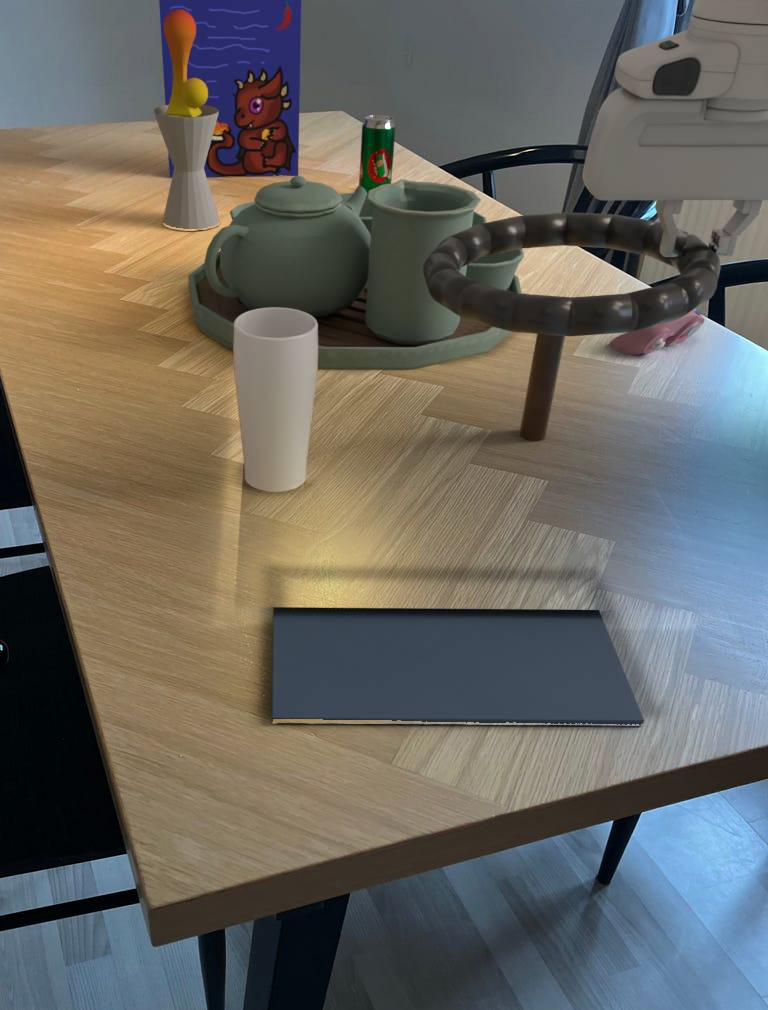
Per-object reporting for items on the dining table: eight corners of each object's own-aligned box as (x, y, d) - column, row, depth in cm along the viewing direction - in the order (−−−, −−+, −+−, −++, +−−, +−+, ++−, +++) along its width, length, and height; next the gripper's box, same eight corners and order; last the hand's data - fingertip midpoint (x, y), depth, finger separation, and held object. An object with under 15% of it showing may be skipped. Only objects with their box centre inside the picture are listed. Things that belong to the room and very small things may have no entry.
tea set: (568, 297, 123) (596, 155, 113) (421, 416, 97) (440, 246, 87) (303, 239, 140) (306, 110, 129) (117, 327, 114) (102, 175, 103)
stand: (562, 429, 95) (590, 296, 87) (581, 469, 89) (613, 331, 81) (480, 428, 95) (500, 295, 87) (494, 469, 89) (517, 330, 81)
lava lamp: (151, 228, 143) (129, -67, 121) (175, 211, 150) (159, -71, 128) (208, 234, 141) (197, -64, 119) (230, 217, 148) (224, -69, 125)
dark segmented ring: (665, 232, 91) (670, 200, 89) (760, 329, 73) (769, 292, 71) (411, 250, 92) (411, 219, 90) (443, 351, 74) (444, 314, 72)
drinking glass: (229, 505, 84) (224, 335, 74) (244, 467, 89) (241, 303, 79) (307, 513, 83) (312, 342, 73) (318, 473, 88) (324, 309, 78)
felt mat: (586, 589, 75) (588, 583, 74) (642, 727, 63) (644, 720, 63) (273, 587, 75) (273, 580, 74) (271, 724, 63) (271, 717, 63)
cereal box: (294, 166, 171) (297, -42, 152) (298, 175, 166) (301, -38, 148) (169, 168, 169) (156, -43, 150) (169, 177, 164) (156, -39, 145)
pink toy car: (625, 381, 108) (663, 335, 102) (600, 350, 109) (636, 303, 103) (681, 360, 112) (720, 315, 106) (656, 331, 113) (694, 285, 108)
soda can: (365, 195, 157) (370, 112, 150) (394, 200, 156) (401, 116, 148) (352, 203, 154) (357, 119, 146) (382, 208, 152) (388, 123, 145)
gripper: (864, 56, 75) (804, 242, 83) (596, 56, 75) (564, 243, 83) (904, 70, 70) (836, 267, 78) (618, 71, 70) (582, 267, 78)
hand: (694, 254), depth 81 cm, fingers closed on dark segmented ring, 3 cm apart
